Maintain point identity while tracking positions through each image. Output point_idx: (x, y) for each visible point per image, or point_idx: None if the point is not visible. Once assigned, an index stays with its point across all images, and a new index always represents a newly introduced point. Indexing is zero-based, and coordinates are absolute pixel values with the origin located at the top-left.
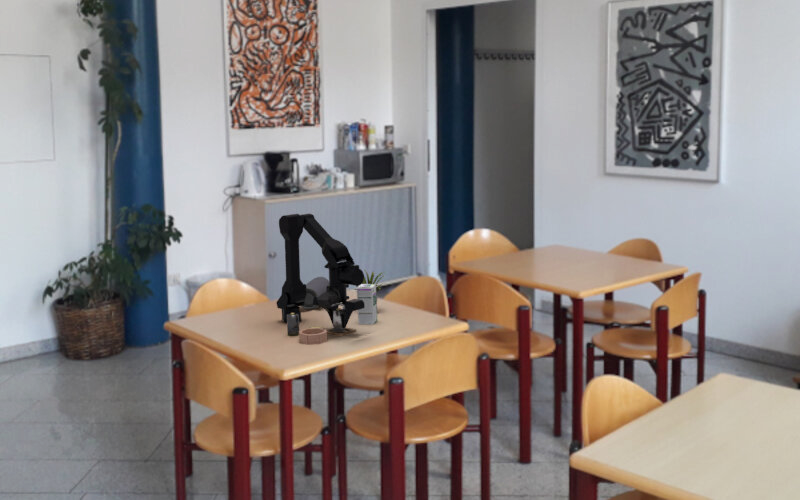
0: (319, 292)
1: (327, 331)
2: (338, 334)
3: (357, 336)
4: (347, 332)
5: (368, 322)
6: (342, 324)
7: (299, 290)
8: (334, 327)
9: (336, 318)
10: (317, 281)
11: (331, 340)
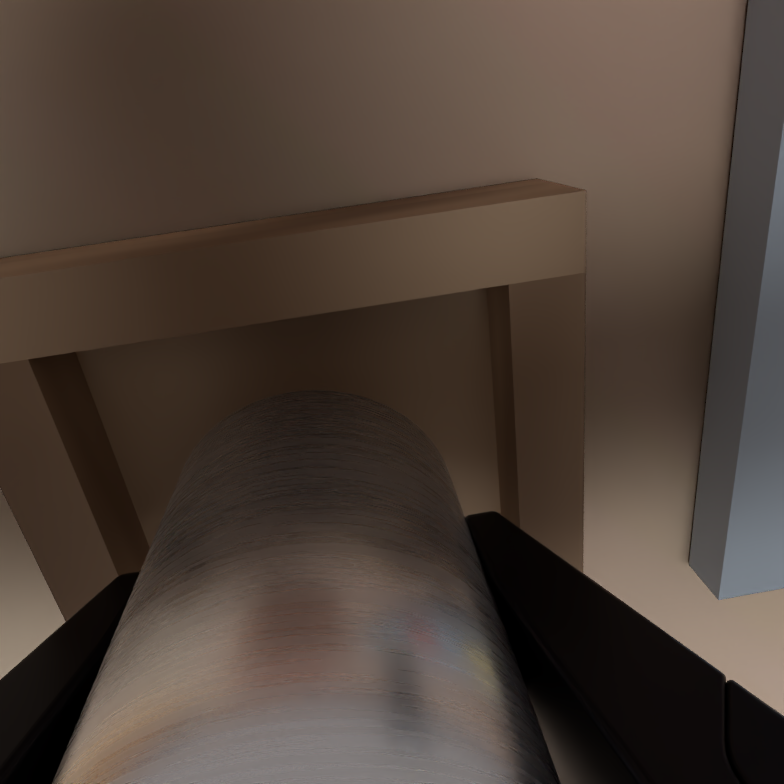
0: None
1: (466, 263)
2: None
3: (32, 617)
4: (29, 535)
5: None
6: (80, 639)
7: None
8: (323, 439)
9: (158, 733)
10: None
11: (87, 63)
